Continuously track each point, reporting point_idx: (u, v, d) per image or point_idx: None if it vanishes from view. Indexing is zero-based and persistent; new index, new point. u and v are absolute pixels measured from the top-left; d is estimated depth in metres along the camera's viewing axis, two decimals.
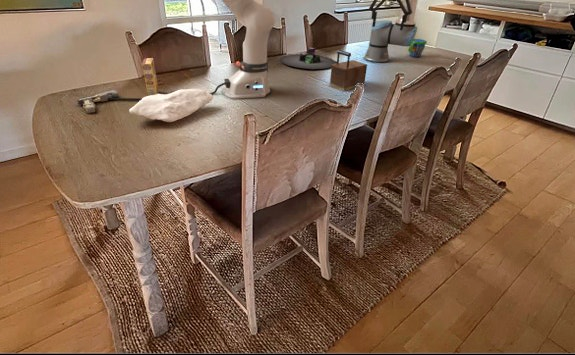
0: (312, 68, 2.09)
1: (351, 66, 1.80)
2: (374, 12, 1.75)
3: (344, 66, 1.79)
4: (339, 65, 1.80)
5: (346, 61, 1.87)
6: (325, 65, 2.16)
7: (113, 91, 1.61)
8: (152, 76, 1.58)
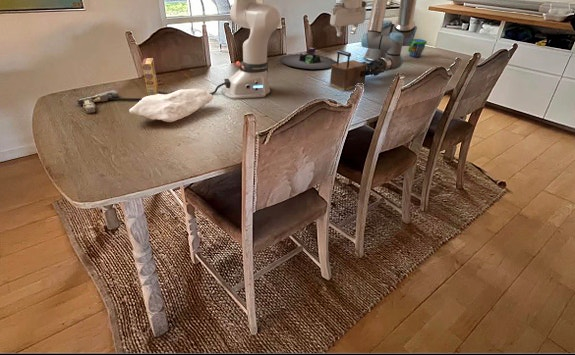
0: (312, 68, 2.09)
1: (351, 66, 1.80)
2: (369, 74, 1.87)
3: (344, 66, 1.79)
4: (339, 65, 1.80)
5: (346, 61, 1.87)
6: (325, 65, 2.16)
7: (113, 91, 1.61)
8: (152, 76, 1.58)
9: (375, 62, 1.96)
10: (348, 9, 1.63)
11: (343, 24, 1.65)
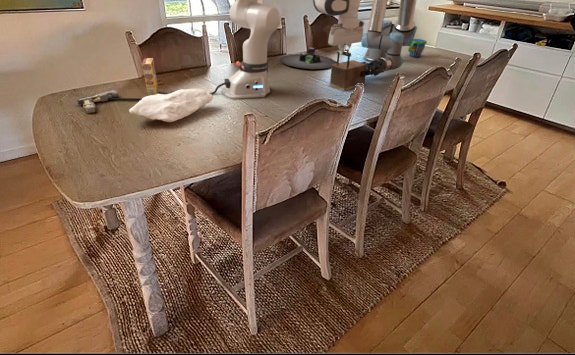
0: (312, 68, 2.09)
1: (351, 66, 1.80)
2: (369, 74, 1.87)
3: (344, 66, 1.79)
4: (339, 65, 1.80)
5: (346, 61, 1.87)
6: (325, 65, 2.16)
7: (113, 91, 1.61)
8: (152, 76, 1.58)
9: (375, 62, 1.96)
10: (346, 29, 1.68)
11: (341, 43, 1.70)
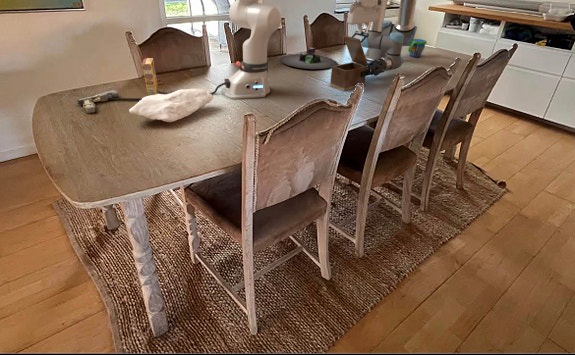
0: (312, 68, 2.09)
1: None
2: None
3: None
4: None
5: None
6: (325, 65, 2.16)
7: (113, 91, 1.61)
8: (152, 76, 1.58)
9: (375, 62, 1.96)
10: (365, 7, 1.69)
11: (360, 22, 1.71)
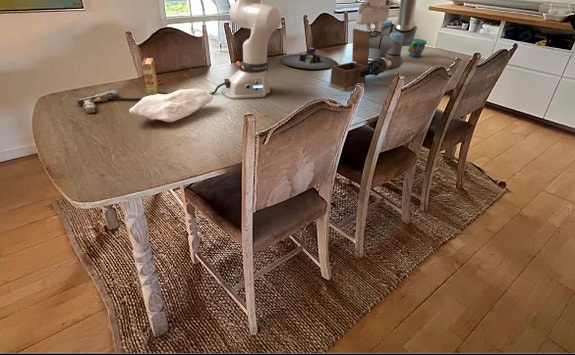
0: (312, 68, 2.09)
1: None
2: (369, 74, 1.87)
3: None
4: None
5: None
6: (325, 65, 2.16)
7: (113, 91, 1.61)
8: (152, 76, 1.58)
9: (375, 62, 1.96)
10: (373, 7, 1.73)
11: (368, 22, 1.75)
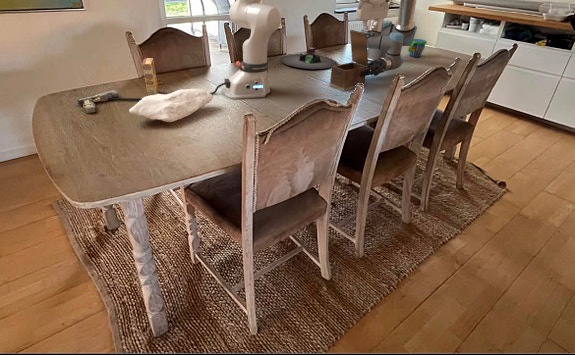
0: (312, 68, 2.09)
1: None
2: (369, 74, 1.87)
3: None
4: None
5: None
6: (325, 65, 2.16)
7: (113, 91, 1.61)
8: (152, 76, 1.58)
9: (375, 62, 1.96)
10: (373, 4, 1.72)
11: (368, 18, 1.74)
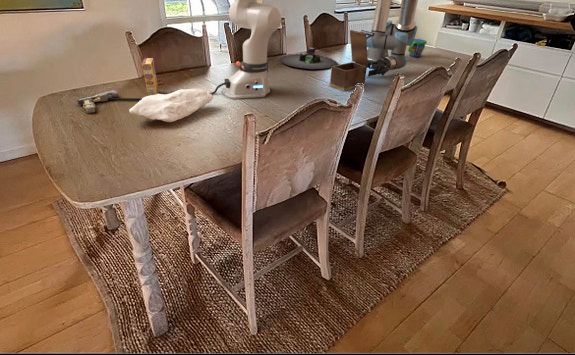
0: (312, 68, 2.09)
1: None
2: None
3: None
4: None
5: None
6: (325, 65, 2.16)
7: (113, 91, 1.61)
8: (152, 76, 1.58)
9: (379, 61, 1.98)
10: None
11: None
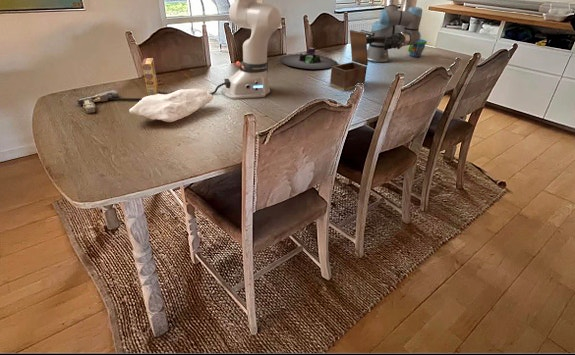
0: (312, 68, 2.09)
1: None
2: None
3: None
4: None
5: None
6: (325, 65, 2.16)
7: (113, 91, 1.61)
8: (152, 76, 1.58)
9: (394, 36, 1.97)
10: None
11: None
